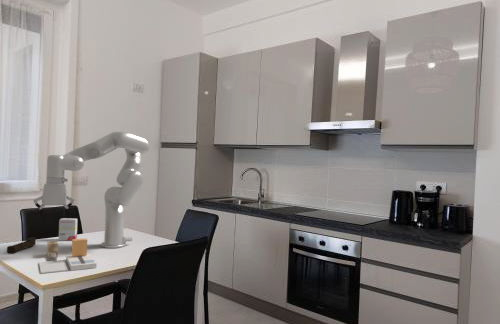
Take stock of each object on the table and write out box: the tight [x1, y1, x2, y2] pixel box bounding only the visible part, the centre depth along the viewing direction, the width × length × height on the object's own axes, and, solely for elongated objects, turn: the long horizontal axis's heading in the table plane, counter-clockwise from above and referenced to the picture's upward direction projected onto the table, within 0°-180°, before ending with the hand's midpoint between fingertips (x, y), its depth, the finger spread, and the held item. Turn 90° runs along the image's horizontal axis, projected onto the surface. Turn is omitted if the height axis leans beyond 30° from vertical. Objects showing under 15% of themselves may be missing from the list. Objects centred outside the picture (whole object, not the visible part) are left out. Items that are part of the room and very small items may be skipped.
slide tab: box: [71, 238, 88, 256], centre depth 173 cm, size 6×3×7 cm, turn 122°
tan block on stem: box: [46, 240, 59, 261], centre depth 175 cm, size 4×14×6 cm, turn 32°
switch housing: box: [65, 252, 97, 271], centre depth 168 cm, size 10×18×2 cm, turn 32°
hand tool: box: [6, 236, 37, 254], centre depth 188 cm, size 19×4×5 cm, turn 174°
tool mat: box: [38, 259, 69, 275], centre depth 161 cm, size 10×16×1 cm, turn 32°
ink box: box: [58, 217, 78, 242], centre depth 211 cm, size 9×5×12 cm, turn 101°
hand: (53, 217), depth 179 cm, fingers open, 9 cm apart
